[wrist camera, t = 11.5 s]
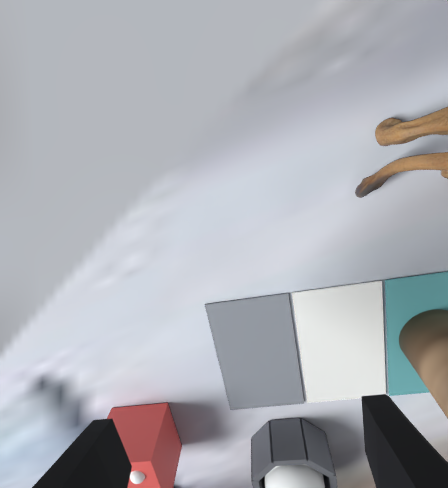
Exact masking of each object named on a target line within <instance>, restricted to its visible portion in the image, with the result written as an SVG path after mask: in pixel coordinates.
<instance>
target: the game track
mask: <svg viewBox="0 0 448 488" xmlns="http://www.w3.org/2000/svg"><path fill="white" fill-rule="evenodd" d="M385 292H386V322H387V353H388V384H389V396H393V395H405V394H416V393H427V392H430V391H429V390H428V388H427V387H426V386H425V384H424V383H423V381H422V380H421V378H420V377H419V375H418V374H417V372H416V371H415V369H414V368H413V366H412V365H411V363H410V362H409V361H408V359H407V358H406V356H405V355H404V353H403V352H402V350H401V348H400V345H399V335H400V332H401V330H402V328H403V326H404V325H405V324H406V323H407V322H408V321H409V320H410V319H411V318H412V317H414V316H415V315H417V314H419V313H422V312H424V311H428V310H435V309H442V310H447V311H448V272H440V273H433V274H426V275H418V276H411V277H403V278H396V279H389V280H385ZM292 298H293V305H294V312H295V319H296V326H297V333H298V340H299V347H300V355H301V362H302V369H303V376H304V383H305V390H306V397H307V403H314V402H326V401H337V400H348V399H360V398H362V396H370V395H381V394H386V379H385V351H384V324H383V296H382V281H374V282H366V283H359V284H352V285H344V286H337V287H329V288H322V289H315V290H307V291H300V292H292ZM205 308H206V312H207V316H208V320H209V324H210V328H211V332H212V336H213V340H214V344H215V349H216V353H217V357H218V361H219V365H220V369H221V373H222V377H223V381H224V385H225V389H226V393H227V397H228V401H229V406H230V410H236V409H247V408H258V407H269V406H281V405H292V404H303V403H304V398H303V391H302V384H301V377H300V371H299V364H298V357H297V350H296V343H295V336H294V329H293V322H292V316H291V309H290V302H289V295H288V293H285V294H278V295H270V296H263V297H255V298H248V299H241V300H233V301H226V302H218V303H211V304H205Z"/></svg>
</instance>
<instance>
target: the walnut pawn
mask: <svg viewBox="0 0 448 488" xmlns="http://www.w3.org/2000/svg"><path fill="white" fill-rule="evenodd" d="M399 345H400V348H401V350H402V352H403V353H404V355H405V356H406V358H407V359H408V361H409V362H410V363H411V365H412V366H413V368H414V369H415V371H416V372H417V374H418V375H419V377H420V378H421V380H422V381H423V383H424V384H425V386H426V387H427V388H428V390H429V391H430V393H431V394H432V396H433V397H434V399H435V400H436V402H437V403H438V405H439V406H440V408H441V409H442V411H443V412H444V414H445V415H446V416H447V418H448V311H447V310H442V309H435V310H428V311H424V312H422V313H419V314H417V315H415V316H414V317H412V318H411V319H410V320H409V321H408V322H407V323H406V324H405V325H404V326H403V328H402V330H401V332H400V335H399Z"/></svg>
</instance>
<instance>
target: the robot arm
mask: <svg viewBox="0 0 448 488" xmlns="http://www.w3.org/2000/svg"><path fill="white" fill-rule="evenodd" d="M362 411H363V425H364V440H365V452H366V455H367V458H368V462H369V465H370V468H371V471H372V475H373V478H374V481H375V484H376V488H448V462H447V461H446V460H445V459H444V458H443V457H442V456H441V455H440V454H439V453H438V452H437V451H436V450H435V449H434V448H433V446H432V445H431V444H430V443H429V442H428V441H427V440H426V439H425V438H424V437H423V436H422V434H421V433H420V432H419V431H418V430H417V429H416V428H415V427H414V425H413V424H412V423H411V422H410V421H409V420H408V419H407V417H406V416H405V415H404V414H403V413H402V412H401V410H400V409H399V408H398V407H397V406H396V404H395V403H394V402H393V401H392V400H391V398H390V397H389V396H387V395H386V394H381V395H370V396H362ZM131 469H132V465H131V463H130V461H129V458H128V456H127V453H126V451H125V448H124V446H123V443H122V441H121V439H120V436H119V434H118V431H117V429H116V426H115V424H114V421H113V419H102V420H93V421H92V422H91V423H90V425H89V426H88V427H87V428H86V429H85V430H84V431H83V432H82V433H81V434H80V435H79V436H78V438H77V439H76V440H75V441H74V442H73V443H72V444H71V445H70V446H69V448H68V449H67V450H66V451H65V452H64V453H63V454H62V455H61V456H60V458H59V459H58V460H57V461H56V462H55V463H54V464H53V465H52V466H51V468H50V469H49V470H48V471H47V472H46V473H45V474H44V475H43V476H42V477H41V479H40V480H39V481H38V482H37V483H36V484H35V485H34V486H33V487H32V488H128V483H129V478H130V474H131Z"/></svg>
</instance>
